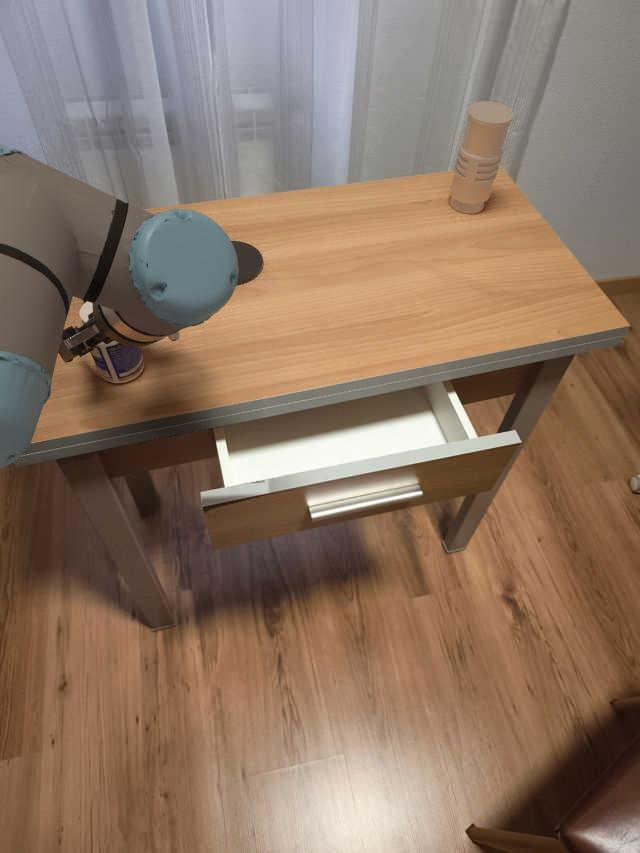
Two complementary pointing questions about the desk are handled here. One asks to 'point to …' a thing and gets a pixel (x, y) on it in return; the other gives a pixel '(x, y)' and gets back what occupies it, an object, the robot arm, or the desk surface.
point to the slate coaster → (247, 261)
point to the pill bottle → (114, 356)
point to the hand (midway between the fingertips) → (100, 334)
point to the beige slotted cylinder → (479, 155)
